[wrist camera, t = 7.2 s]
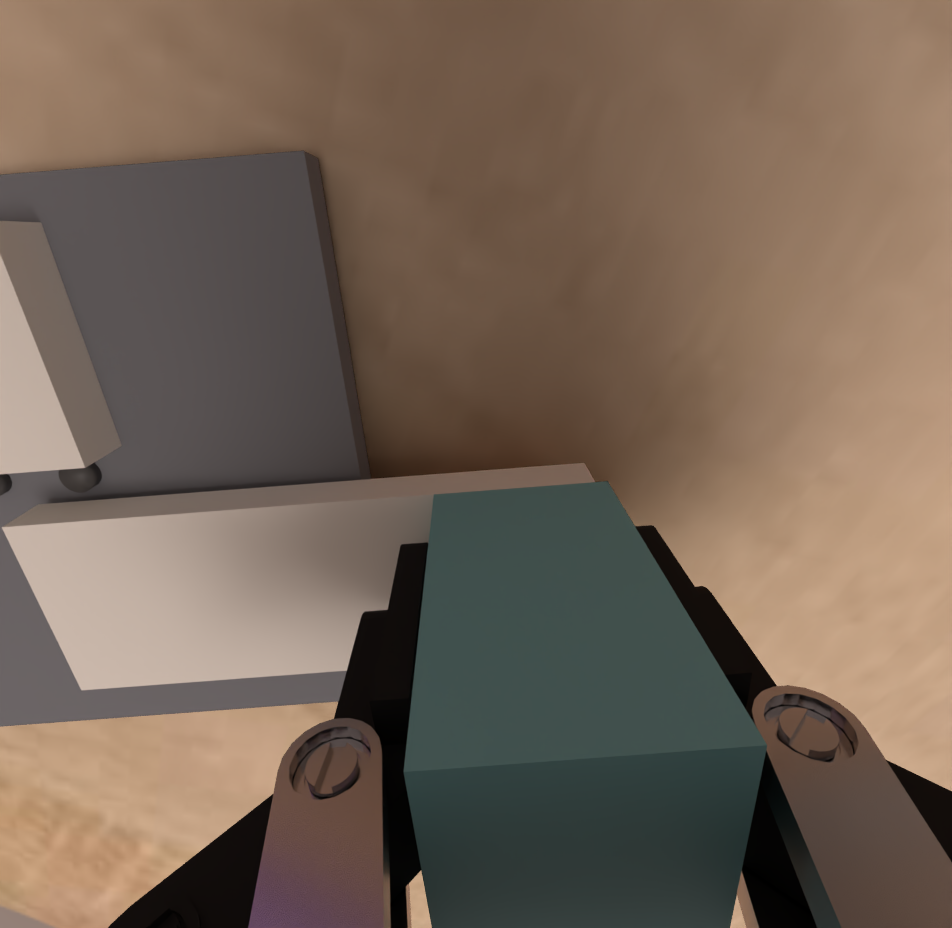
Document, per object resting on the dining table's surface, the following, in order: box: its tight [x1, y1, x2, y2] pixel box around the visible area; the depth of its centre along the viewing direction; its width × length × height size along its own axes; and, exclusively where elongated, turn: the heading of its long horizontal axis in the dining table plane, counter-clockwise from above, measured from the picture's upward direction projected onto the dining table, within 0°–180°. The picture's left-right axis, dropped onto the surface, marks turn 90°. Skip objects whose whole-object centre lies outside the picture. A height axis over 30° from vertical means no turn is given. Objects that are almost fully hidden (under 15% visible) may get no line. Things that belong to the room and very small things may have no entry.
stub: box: [2, 463, 767, 928], centre depth 9 cm, size 12×4×7 cm, turn 94°
